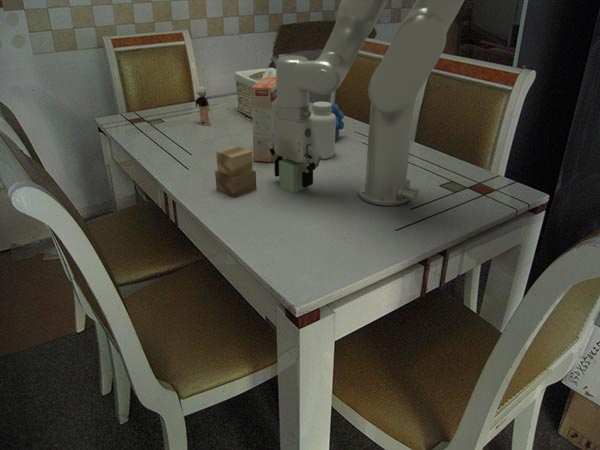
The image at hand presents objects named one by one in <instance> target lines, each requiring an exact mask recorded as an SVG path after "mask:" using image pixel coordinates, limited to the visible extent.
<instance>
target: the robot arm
mask: <svg viewBox="0 0 600 450" xmlns="http://www.w3.org/2000/svg"><path fill="white" fill-rule="evenodd" d="M388 2H389V0H340V2H339V5H338V9H337V12H336V13H337V16H336V21H335V23H334V26H333V29H332V31H331V33H330V36H329V38H328V39H327V41H326V44H325V46H324V47H323V50H322V51H321V53H320V55H319V57H318V58H317V59H315V60H309V59H308V58H307V57H305V56H303V55H283V56H281V57H279V58H277V60H276V64H275V69H276V88H277V116H276V120H275V129H274V138H273V139H271V140H268V141H267V143H268V146H269V148H270V153H271V154H272V156H273V157H272V159H273V164H274V176H275V177H278V178H279V161H280V160H283V159H289V160H292V161H295V162H298V163H300V164H301V166H302V168H303V169H304V172H302V187H304V188H305V187H307V188H308V187H310V186H312V185H314V171H316V169H317V167H318V166H320V162H321V160H322V159H321V155H320V154H319V153H318V152H317V151H316V150H315V138H314V129H313V123H312V119H309V117H310V116H311V113H312V112H311V111H310V94H315V95H321V96H327V95H331V94H334V92H336V90H338V89H339V88H340V86H341V85H342V83H343V81H344V80H345V78H346V76H347V74H349V71H350V69H351V67H352V65H353V63H354V62H355V59H356V58H357V56H358V54H359V52H360V51H361V49H362V46H363V44H364V43H365V42H366V40H367V38H368V37H369V35H370V34H371V32H372V31H373V29H374V28H375V26H376V24H377V22H378V21H379V18H380V17H381V15H382V13H383V10H384V9H385V6H386V5H387V3H388ZM464 2H465V0H415V2H414V3H413V5H412V7H411V9H410V10H409V12H408V14H407V15H406V16H405V17H404V19H403V20H402V21H401V23H400V25H399V27H398V29H397V31H396V33H395V35H394V37H393V38H392V41H391V43H390V44H389V46H388V48H387V50H386V52H385V53H384V56H383V57H382V59H381V61H380V63H379V65H377V66H376V68H375V70H374V71H373V74H372V76H371V78H370V80H369V84H368V89H367V90H368V91H367V92H368V93H367V94H368V99H369V101H370V108H369V109H370V110H369V111H370V113H369V123H368V124H369V125H368V137H367V150H366V151H367V152H366V154H367V155H366V166H365V167H366V169H365V170H366V171H365V182H364V183H362V184H361V185H360V186H359V187H358V192H357V193H358V196H359V197H360V198H361V199H362V200H363V201H365V202H367V203H370V204H374V205H377V206H387V207H388V206H398V205H403V204H405V203H407V202H408V201H412V202H416V201H417V200H418V196H419V192H420V190H419V189H418V188H415V187H412V186H411V179H408V178H407V176H408V168H409V167H408V165H409V158H410V157H409V156H410V147H411V136H412V132H413V131H412V129H413V120H414V113H415V112H414V111H415V110H414V109H415V102H416V101H415V100H416V98H417V96H418V95H419V93H420V91H421V89H422V88H423V86H424V85H425V83H426V81H427V80H428V78H429V77H430V75H431V73H432V71H433V70H434V68H435V66H436V64H437V63H438V61H439V60H440V59H441V58H440V57H441V55H443V52H444V50H445V47H446V44H447V33H448V32H449V29H450V28H451V25H452V24H453V22H454V20H455V19H456V16H457V15H458V13H459V11H460V9H461V8H462V6H463V4H464ZM306 162H308V166H307V164H306ZM305 189H306V188H305Z"/></svg>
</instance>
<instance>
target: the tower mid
mask: <svg viewBox="0 0 600 450" xmlns="http://www.w3.org/2000/svg"><path fill="white" fill-rule="evenodd" d="M215 153H216V154H215V155H216V167H217V170H218V171H219V172H221V173H223V174H225V175H228V176H230V177H232V178H234V177H237V176H240V175H243V174H246V173H249V172H252V171H253V170H254V169H253V153H252V151H251V150H248V149H245V148H243V147H240V146H239V145H233V146H230V147H226V148H224V149H220V150H216V151H215Z"/></svg>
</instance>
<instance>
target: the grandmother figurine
mask: <svg viewBox="0 0 600 450" xmlns="http://www.w3.org/2000/svg"><path fill="white" fill-rule="evenodd" d="M206 91H207V89H206V87H205V86H199V87H198V88H197V89H196V92H195V94H196V95H198V97H197V98H196V100H195V101H194V102H195V104H194V106H195V108H197V107H199V117H200V118H199V119H200V122H199V123H200V124H199V125H203V126H205V125H206V126H211V124H212V122H211V121H210V117H209V112H210V111H211V108H210V104H209V101H208V98H206V96H207V92H206Z"/></svg>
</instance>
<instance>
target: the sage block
mask: <svg viewBox="0 0 600 450" xmlns="http://www.w3.org/2000/svg"><path fill="white" fill-rule="evenodd" d="M306 164H307V166H308V165H309V164H308V162H306ZM302 172H304V169H303V168H302V166H301V164H300V163H298V162H295V161H292V160H289V159H286V158H283V160H280V161H279V176H278V181H279V183H278V185H279V186H278V187H279V188H280V189H282V190H285V191H288V192H289V193H292V194H295V193H297V192H300V191H302V190H305V189H307V188H308V187H305V188H304V187H302Z"/></svg>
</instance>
